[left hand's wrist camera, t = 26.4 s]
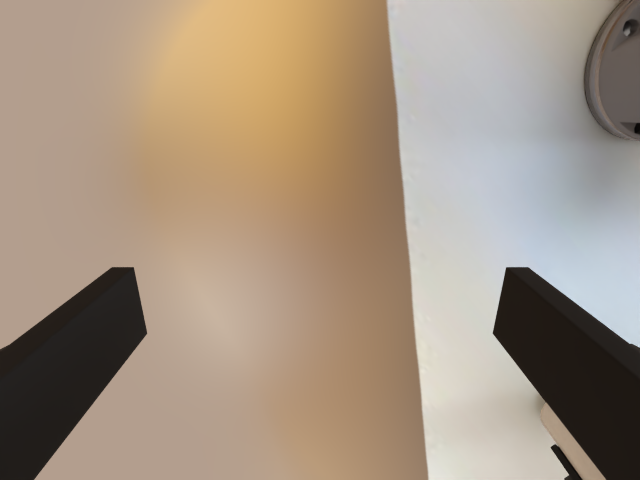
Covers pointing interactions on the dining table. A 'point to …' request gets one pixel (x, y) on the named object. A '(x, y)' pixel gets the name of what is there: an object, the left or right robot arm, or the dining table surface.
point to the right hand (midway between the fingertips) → (586, 432)
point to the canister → (569, 446)
